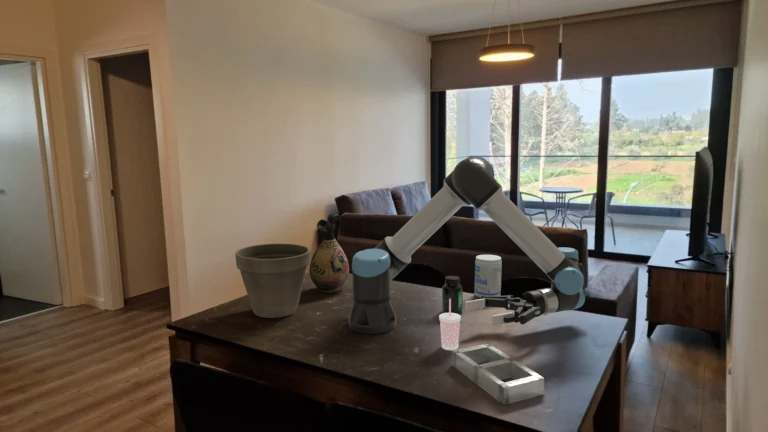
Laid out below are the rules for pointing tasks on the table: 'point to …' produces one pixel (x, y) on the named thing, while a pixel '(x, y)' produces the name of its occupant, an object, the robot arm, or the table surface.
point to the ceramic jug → (329, 259)
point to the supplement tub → (488, 275)
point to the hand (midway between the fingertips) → (478, 313)
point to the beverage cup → (449, 329)
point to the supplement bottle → (452, 295)
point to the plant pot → (273, 277)
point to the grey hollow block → (498, 373)
